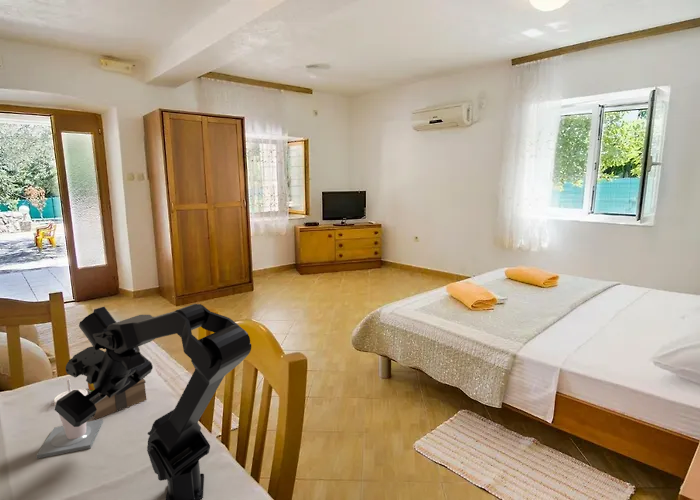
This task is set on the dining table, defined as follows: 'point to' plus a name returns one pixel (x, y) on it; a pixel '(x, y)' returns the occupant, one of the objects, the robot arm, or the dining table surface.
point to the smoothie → (69, 429)
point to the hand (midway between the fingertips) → (98, 407)
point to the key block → (121, 400)
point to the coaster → (69, 440)
